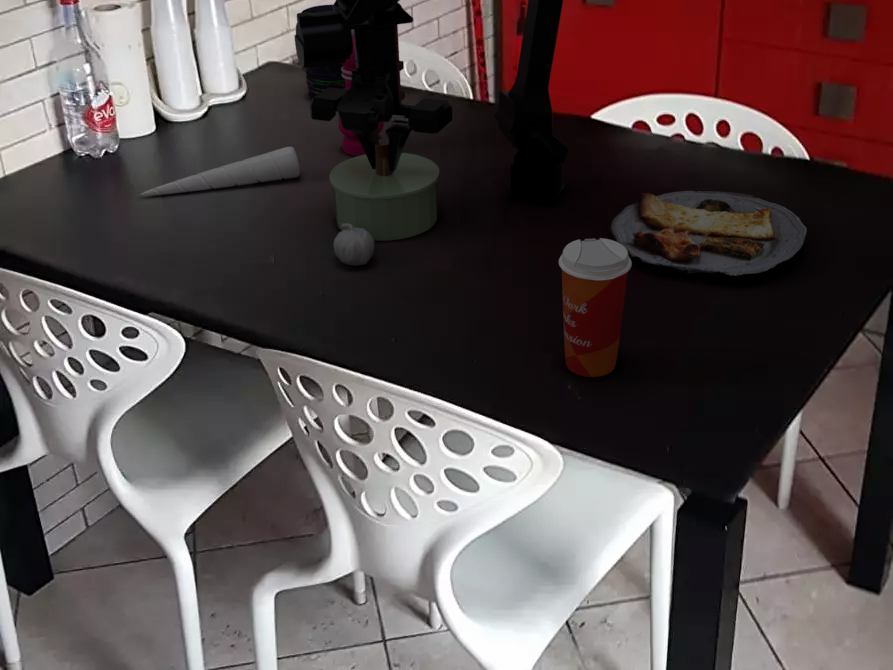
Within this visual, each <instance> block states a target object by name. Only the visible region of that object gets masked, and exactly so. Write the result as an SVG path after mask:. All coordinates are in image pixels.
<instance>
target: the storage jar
mask: <svg viewBox="0 0 893 670" xmlns="http://www.w3.org/2000/svg"><path fill="white" fill-rule="evenodd" d="M327 11H335V10H334V9H333V4H319V5H314V6H310V7H308V8H305V9H303V10H302V11H301V12H300V13H304V12H309V13H318V12H327ZM342 66H343V65H342V64H335V65H327V66H319V67H311V68H305V74H306V76H305V81H306V85H307V90H308V93H307V95H308V99H309V100H310V101H311V100H312V99H313V98H314V97H315V96H317V95H318V94H320V93H321V92H323V91H324V90H326V89H327V88H328V87H329V88H338V89H346V83H345V78H343V77H342V71H341V68H342Z"/></svg>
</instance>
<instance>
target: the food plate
mask: <svg viewBox="0 0 893 670" xmlns="http://www.w3.org/2000/svg"><path fill="white" fill-rule="evenodd" d="M609 225H610V226H609V232H610V234H611V236H612V238H613V239H614V241H616V242H618V243H620V244H622V245H623V246H624V247H625V248H626V250H627V252H628V256H629V257H630V258H635V257H638V258H639V261H641V262H642V263H644V264H653V265H655V266H656V265H657V266H658V267H661V266H663V267H670V268H673V269H676V270H678V271H681V272H684V271H686V274H687V275H688V274H698V273H707V274H716V273H717V272H719V274H725V275H727V276H730V277H732V276H736V277H737V276H742V275H751V274H761V273H764V272H767V271H769V269H773V268H775V267H776V266H777V265H778V264H782V263H783V262H785V261H788V260H789V259H791V258H792V257H794V256H795V255H796V254H797V252H799V251H801V249H802V247H803V245H804V243H805V239H806V236H807V231H808V228H807V227H806V225H805V224H804V223H803V222H802V221H801V219H800V217H799V216H797V215H796V214H795V213H794V212H793V211H791V210H789V209H788V208H786V207H785V206H782V205H780V204H777V203H775V202H769V201H768V200H764V199H761V198H759V197H756V196H754V195H751V194H745V193H739V192H731V191H729V192H727V191H713V190H710V191H709V190H698V191H695V190H684V191H683V190H682V191H673V192H666V193H665V192H664V193H662V194H658V195H654V194H652V193H651V192H646V193H641V194H640V196H639V198H638V200H637V201H636V202H634V203H631V204H629V205H627V206H624V208H623V209H622V210H620V211H619V212H618V214H616V216H614V217H613V218H612V220H611V223H610V224H609Z"/></svg>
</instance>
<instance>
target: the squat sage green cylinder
mask: <svg viewBox="0 0 893 670" xmlns="http://www.w3.org/2000/svg"><path fill="white" fill-rule="evenodd" d="M332 190H333V201H334V213H335V220H336V221H335V222H336V225H337V227H338V228H339V229H340V231H343V230H345V229H348V228H349V227H345V228H343V227H341V225H342V224H346V223H349V224H351V225H352V226H353V228H356V227H357V228H363V229H365V230H366V231H368V232H369V233H370V234H371V235H372V237H373V239H374V241H376V242H377V241H379V242H380V241H384V242H385V241H387V242H388V241H397V240H398V241H399V240H403V239H408V238H412V237H415V236H418V235H421V234H423V233H425V232H426V231H428V230H430V229H431V228H433V226H434V225H435V224H436V223H437V220H438V214H439V213H438V212H439V211H438V210H439V209H438V181H437V182H436V183H435V184H434V185H432V186H431V187H429V188H428V189H426V190H424V191H421V192H419V193H416V194H412V195H408V196H404V197H398V198H388V199H369V198H360V197H354V196H350V195H347V194H344V193H342V192H340V191H338V190H336V189H335V188H334V187H333V186H332Z"/></svg>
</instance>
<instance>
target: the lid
mask: <svg viewBox="0 0 893 670" xmlns="http://www.w3.org/2000/svg"><path fill="white" fill-rule="evenodd" d="M374 154H375V169H372V167H371V165H370V163H369V160H368V158H367V156H366V155H361V156H352V158H348V159H345V160H344V161H341V162H340V163H338V164H336V166H334V167H333V168H332V169H331V170H330V173H329V178H328V179H329V183H330V185H331V187H332V188H333V187H334V188H335V189H336V190H338V191H340V192H342V193H344V194H347V195H350V196H354V197H360V198H369V199H388V198H398V197H404V196H408V195H412V194H416V193H419V192H421V191H424V190H426V189H428V188H429V187H431V186H432V185H434V184H435V183H436V182H437V183H438V180H439V178H440V176H441V175H440V173H441V171H440V168H439V166H438V164H436V162H434V161H433V160H431V159H429V158H427V157H425V156H421V155H418V154H413V153H409V152H408V153H407V152H402V154H401V157H400V159H399V162H398V165H397V168H396V170H395V171H394V172H391V171H390V165H389V138H388V139H387V138H382V139H379V140H376V141H375V142H374Z"/></svg>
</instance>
